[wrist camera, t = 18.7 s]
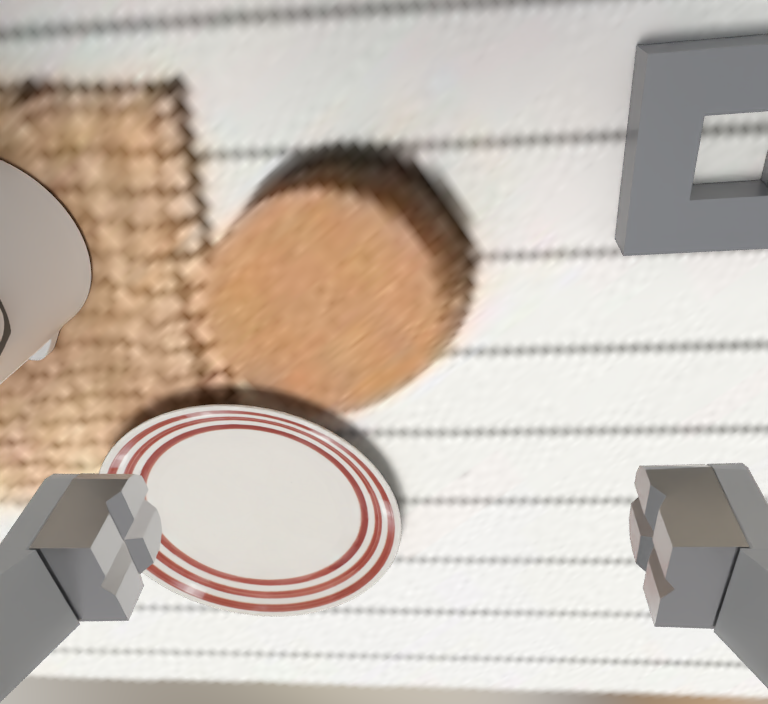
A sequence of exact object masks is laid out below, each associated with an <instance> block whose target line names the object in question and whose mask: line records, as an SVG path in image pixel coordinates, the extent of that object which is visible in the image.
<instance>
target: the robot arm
mask: <svg viewBox="0 0 768 704" xmlns="http://www.w3.org/2000/svg"><path fill="white" fill-rule="evenodd" d="M90 284H91V265H90V259H89V255H88V251H87V248H86V245H85V242H84V240H83V238H82V236H81V234H80V232H79V230H78V228H77V226H76V224H75V223H74V221H73V220H72V218H71V217H70V215H69V214H68V213H67V211H66V210H65V209H64V207H63V206H62V205H61V204H60V203H59V202H58V201H57V199H56V198H55V197H54V196H53V195H52V194H51V193H50V192H49V191H47V190H46V189H45V188H44V187H43V186H42V185H41V184H39V183H38V182H37V181H35V180H34V179H33V178H31V177H30V176H28V175H27V174H25V173H24V172H22V171H21V170H19V169H17V168H16V167H14V166H12V165H10V164H8V163H6V162H4V161H2V160H0V384H1V383H2V382H4V381H5V380H6V379H7V378H8V377H9V376H10V375H12V374H13V373H14V372H15V371H16V370H17V369H18V368H19V367H21V366H22V365H23V364H24V363H25V362H26V361H27V360H41V359H43V358H45V357H46V356H47V355H48V354H49V353H51V352H52V350H53V349H54V347H55V344H56V341H57V338H58V334H59V330H60V329H61V328H62V327H63V326H64V324H66V323H67V322H68V321H69V320H70V319H71V318H73V317H74V316H75V315H76V314H77V313H78V312H79V310H80V309H81V308H82V306H83V305H84V303H85V301H86V299H87V296H88V293H89V290H90ZM634 484H635V487H636V490H637V493H638V498H637V499H636V500H635V501H633V502H632V503H631V508H630V516H629V530H630V540H631V546H632V551H633V554H634V558H635V562H636V564H638V565H639V566H640V567H641V568H642V569H643V570H644V571H646V574H645V580H644V585H643V590H644V593H645V596H646V600H647V603H648V606H649V610H650V613H651V617H652V620H653V623H654V626H656V627H683V628H710V629H714V632H715V633H716V634H717V635H718V637H719V638H720V639H721V640H722V641H723V642H724V643H725V644H726V645H727V646H728V647H729V648H730V649H731V650H732V651H733V652H734V653H735V654H736V655H737V657H738V658H739V659H740V660H741V661H742V662H743V663H744V664H745V665H746V666H747V667H748V668H749V669H750V670H751V671H752V672H753V673H754V674H755V675H756V677H757V678H758V679H759V680H760V681H761V682H762V683H763V684H764V685H765V686H766V687H767V688H768V503H767V502H766V500H765V498H764V496H763V494H762V492H761V490H760V489H759V487H758V485H757V483H756V481H755V479H754V478H753V476H752V474H751V472H750V470H749V468H748V467H747V466H745V465H744V464H743V463H726V464H707V465H705V464H689V465H649V466H639V468H638V470H637V472H636V478H635V483H634ZM148 490H149V489H148V487H147V485H146V483H145V481H144V479H143V477H142V476H140V475H136V474H53V475H51V476H49V477H48V478H46V479H45V480H44V481H43V483H42V484H41V486H40V487H39V489H38V490H37V491H36V493H35V494H34V496H33V497H32V499H31V500H30V502H29V503H28V505H27V506H26V507H25V509H24V510H23V512H22V513H21V515H20V516H19V518H18V519H17V521H16V522H15V523H14V525H13V526H12V528H11V529H10V531H9V532H8V534H7V535H6V537H5V538H4V539H3V541H2V542H1V544H0V702H1V701H2V700H3V699H4V698H5V697H6V696H7V695H8V694H9V693H10V692H11V691H12V690H13V689H14V688H15V687H16V686H17V685H18V684H19V683H20V682H21V681H22V680H23V679H25V678H26V677H27V676H28V675H29V674H30V673H31V672H32V671H33V670H34V669H35V668H36V667H37V666H38V665H39V664H40V663H41V662H42V661H43V660H44V659H45V658H46V657H47V656H48V655H49V654H50V653H51V652H52V651H53V650H54V649H55V648H56V647H57V646H58V645H59V644H60V643H61V642H62V641H63V640H64V639H65V638H66V637H67V636H68V635H69V634H70V633H71V632H72V631H73V630H75V629H76V628H77V627H78V626H79V625H80V623H79V621H129V618H130V616H131V614H132V612H133V609H134V607H135V605H136V602H137V600H138V598H139V596H140V593H141V591H142V589H143V587H144V584H143V581H142V578H141V575H140V574H141V573H142V572H143V571H144V570H146V569H147V568H148V567H149V566H150V565H152V564H153V563H154V561H155V559H156V556H157V554H158V551H159V549H160V543H161V535H162V526H161V519H160V516H159V513H158V511H157V508H156V507H154V506H153V505H152V504H150V503H149V502H148V501H146V500H145V499H144V498H145V496H146V494H147V492H148Z"/></svg>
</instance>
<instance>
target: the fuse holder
mask: <svg viewBox="0 0 768 704" xmlns="http://www.w3.org/2000/svg"><path fill="white" fill-rule="evenodd" d="M763 111H768V34H764V35H752V36H740V37H729V38H717V39H705V40H693V41H682V42H670V43H658V44H647V45H637V46H636V55H635V64H634V73H633V82H632V91H631V100H630V109H629V118H628V127H627V136H626V145H625V154H624V163H623V171H622V180H621V189H620V198H619V207H618V216H617V225H616V234H615V240H616V242H617V244H618V246H619V248H620V250H621V252H622V254H623V256H630V255H650V254H670V253H690V252H709V251H729V250H749V249H768V152H767V156H766V160H765V165H764V169H763V173H762V177H761V180H758V181H742V182H725V183H709V184H693V178H694V172H695V167H696V161H697V155H698V149H699V144H700V138H701V132H702V127H703V121H704V116H708V115H721V114H735V113H749V112H763ZM692 184H693V185H692Z"/></svg>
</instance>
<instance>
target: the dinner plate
mask: <svg viewBox="0 0 768 704" xmlns="http://www.w3.org/2000/svg"><path fill="white" fill-rule="evenodd" d="M99 474H136V475H140V476H142V477H143V479H144V481H145V483H146V485H147V487H148V489H149V490H148V492H147V494H146V496H145V498H144V499H145V500H146V501H148V502H149V503H150V504H152V505H153V506H154V507H156V508H157V511H158V513H159V516H160V519H161V526H162V535H161V543H160V549H159V551H158V554H157V556H156V559H155V561H154V563H153V564H152V565H150V566H149V567H148V568H147V569H146V570H144V571H143V572H142V573H143V574H145V575H146V576H147V577H149V578H150V579H152V580H153V581H155V582H157V583H158V584H160V585H161V586H163V587H165V588H166V589H168V590H170V591H172V592H174V593H176V594H178V595H180V596H183V597H185V598H187V599H189V600H192V601H195V602H197V603H200V604H203V605H206V606H209V607H213V608H217V609H220V610H224V611H229V612H234V613H240V614H247V615H255V616H295V615H303V614H309V613H314V612H318V611H323V610H327V609H330V608H333V607H336V606H339V605H341V604H344V603H346V602H348V601H350V600H352V599H354V598H356V597H358V596H359V595H361V594H362V593H364V592H365V591H367V590H368V589H369V588H371V587H372V586H373V585H374V584H375V583H376V582H378V580H379V579H380V578H381V577H382V576H383V575H384V574H385V573H386V572H387V570H388V569H389V567H390V566H391V564H392V563H393V561H394V559H395V556H396V554H397V552H398V548H399V544H400V540H401V516H400V511H399V508H398V504H397V501H396V499H395V496H394V494H393V492H392V490H391V488H390V486H389V484H388V483H387V481H386V480H385V478H384V477H383V475H382V474H381V473H380V471H379V470H378V469H377V468H376V467H375V466H374V464H373V463H372V462H371V461H370V460H369V459H368V458H367V457H366V456H365V455H364V454H363V453H361V452H360V451H359V450H358V449H357V448H356V447H354V446H353V445H352V444H350V443H349V442H347V441H346V440H344V439H343V438H341V437H340V436H338V435H337V434H335V433H334V432H332V431H330V430H328V429H326V428H324V427H322V426H320V425H318V424H316V423H314V422H311V421H309V420H306V419H304V418H301V417H298V416H295V415H292V414H289V413H286V412H280V411H277V410H273V409H269V408H262V407H256V406H249V405H236V404H213V405H201V406H192V407H186V408H182V409H178V410H174V411H171V412H167V413H164V414H161V415H158V416H156V417H154V418H151V419H149V420H147V421H145V422H143V423H141V424H140V425H138V426H136V427H135V428H133V429H132V430H130V431H129V432H128V433H126V434H125V435H124V436H123V437H122V438H121V439H120V440H119V441H118V442H117V443H116V444H115V445H114V446H113V447H112V449H111V450H110V452H109V453H108V455H107V456H106V458H105V460H104V462H103V464H102V466H101V469H100V471H99Z"/></svg>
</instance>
